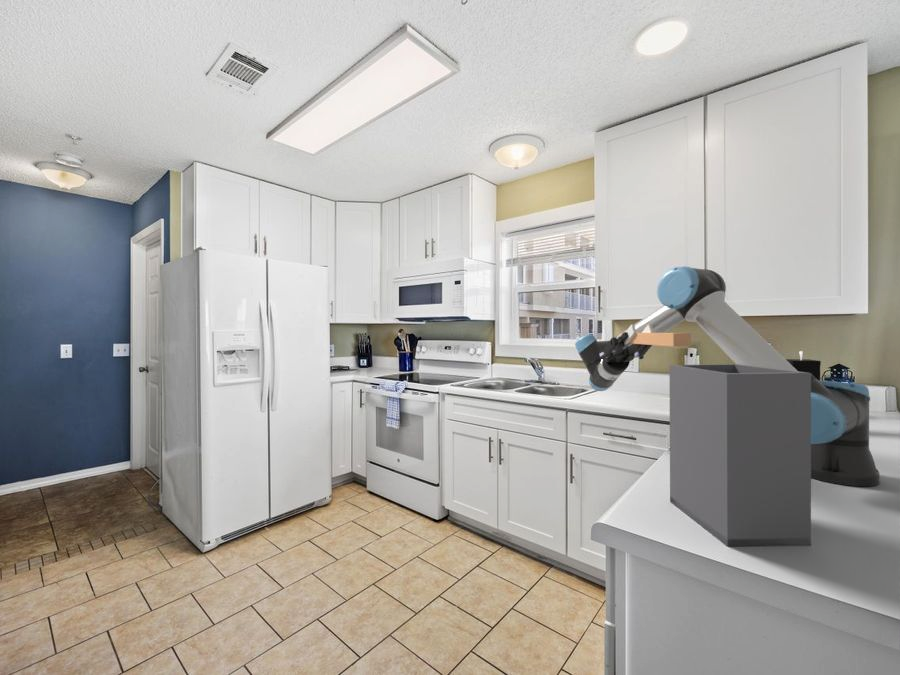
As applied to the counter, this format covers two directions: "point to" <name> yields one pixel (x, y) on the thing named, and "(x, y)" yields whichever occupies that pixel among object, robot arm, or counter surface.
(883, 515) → the counter surface
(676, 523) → the counter surface
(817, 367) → the tissue box
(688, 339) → the slat
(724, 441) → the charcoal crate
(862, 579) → the counter surface
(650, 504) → the counter surface
